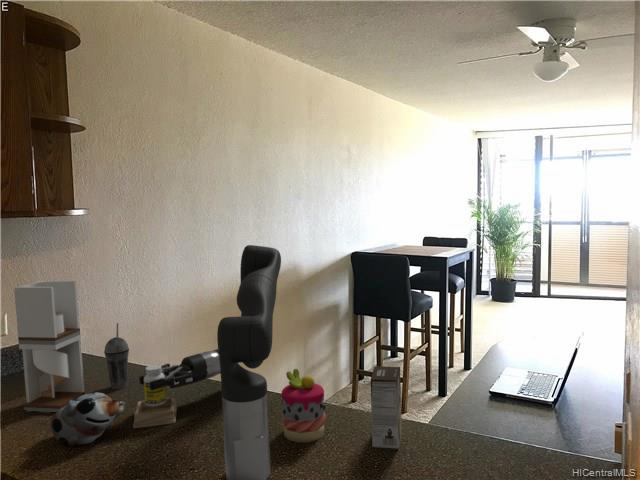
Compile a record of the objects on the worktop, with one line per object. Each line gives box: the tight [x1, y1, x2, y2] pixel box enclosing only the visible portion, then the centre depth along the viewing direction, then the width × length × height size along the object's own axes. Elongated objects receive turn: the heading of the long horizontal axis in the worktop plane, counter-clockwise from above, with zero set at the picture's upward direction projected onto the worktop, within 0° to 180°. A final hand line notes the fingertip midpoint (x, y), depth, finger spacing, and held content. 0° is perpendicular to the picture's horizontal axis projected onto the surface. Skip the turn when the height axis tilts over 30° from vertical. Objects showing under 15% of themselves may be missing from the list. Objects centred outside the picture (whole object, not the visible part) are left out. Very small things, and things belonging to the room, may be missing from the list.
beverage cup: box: [103, 322, 130, 390], centre depth 159 cm, size 7×7×20 cm
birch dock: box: [132, 396, 178, 429], centre depth 136 cm, size 11×10×3 cm
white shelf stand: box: [13, 280, 85, 413], centre depth 146 cm, size 11×11×35 cm
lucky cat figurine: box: [50, 391, 126, 447], centre depth 126 cm, size 15×12×14 cm
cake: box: [281, 368, 327, 443], centre depth 124 cm, size 10×11×15 cm
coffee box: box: [370, 366, 403, 450], centre depth 119 cm, size 9×6×16 cm
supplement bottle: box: [143, 364, 167, 406], centre depth 136 cm, size 5×5×10 cm
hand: (145, 383), depth 134 cm, fingers closed on supplement bottle, 5 cm apart
